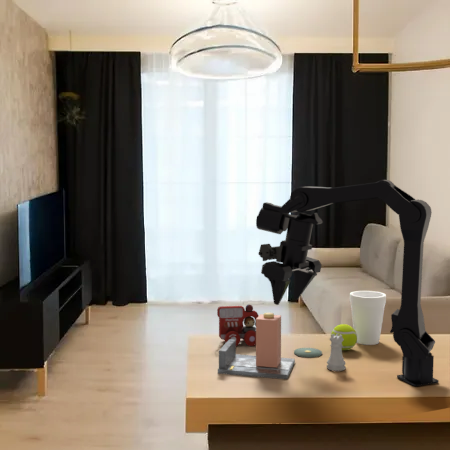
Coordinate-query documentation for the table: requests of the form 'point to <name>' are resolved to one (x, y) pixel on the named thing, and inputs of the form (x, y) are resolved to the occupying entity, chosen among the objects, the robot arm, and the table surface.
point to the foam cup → (367, 315)
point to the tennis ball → (346, 335)
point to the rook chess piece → (336, 354)
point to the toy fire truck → (237, 324)
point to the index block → (268, 340)
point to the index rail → (250, 364)
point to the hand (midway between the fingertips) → (286, 301)
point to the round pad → (308, 352)
